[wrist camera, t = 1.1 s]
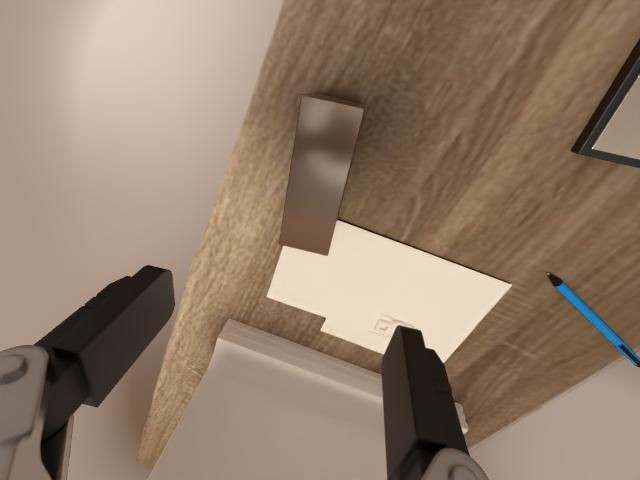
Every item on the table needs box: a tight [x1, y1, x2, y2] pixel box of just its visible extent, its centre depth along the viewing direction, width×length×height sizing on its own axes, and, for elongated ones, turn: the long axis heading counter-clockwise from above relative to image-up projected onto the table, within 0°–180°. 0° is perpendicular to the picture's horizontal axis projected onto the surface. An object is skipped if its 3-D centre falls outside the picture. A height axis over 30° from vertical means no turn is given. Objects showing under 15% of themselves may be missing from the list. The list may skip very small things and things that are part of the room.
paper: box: [267, 220, 512, 363], centre depth 34 cm, size 25×17×1 cm
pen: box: [547, 273, 640, 367], centre depth 32 cm, size 1×19×1 cm, turn 50°
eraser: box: [279, 93, 365, 256], centre depth 25 cm, size 12×4×6 cm, turn 169°
